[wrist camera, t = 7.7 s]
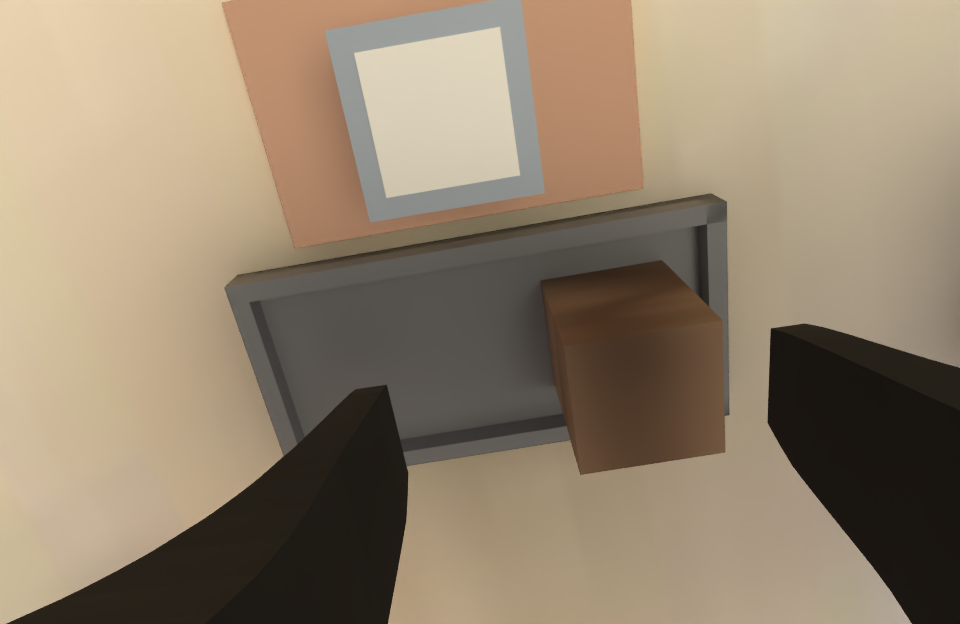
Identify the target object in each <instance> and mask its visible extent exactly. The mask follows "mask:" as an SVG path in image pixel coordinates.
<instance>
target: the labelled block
mask: <svg viewBox="0 0 960 624" xmlns="http://www.w3.org/2000/svg"><path fill="white" fill-rule="evenodd" d="M325 35H326V39H327V43H328V48H329V52H330V56H331V60H332V65H333V69H334V73H335V77H336V81H337V86H338V90H339V94H340V98H341V102H342V107H343V111H344V115H345V119H346V123H347V128H348V132H349V136H350V140H351V144H352V149H353V153H354V157H355V161H356V165H357V170H358V174H359V178H360V182H361V186H362V191H363V195H364V199H365V203H366V207H367V212H368V216H369V220H370V222H376V221H382V220H388V219H394V218H400V217H406V216H412V215H418V214H424V213H430V212H436V211H442V210H448V209H454V208H460V207H466V206H472V205H478V204H483V203H489V202H495V201H501V200H507V199H513V198H519V197H525V196H531V195H537V194H543V193H545V190H544V182H543V174H542V165H541V157H540V149H539V141H538V133H537V124H536V116H535V108H534V100H533V92H532V84H531V75H530V67H529V59H528V51H527V43H526V35H525V26H524V18H523V10H522V2H521V0H491V1H486V2H480V3H475V4H469V5H464V6H458V7H453V8H447V9H442V10H436V11H430V12H425V13H419V14H414V15H408V16H403V17H397V18H392V19H386V20H381V21H375V22H369V23H364V24H358V25H353V26H348V27H342V28H337V29H331V30H325Z"/></svg>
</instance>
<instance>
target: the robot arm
mask: <svg viewBox="0 0 960 624" xmlns="http://www.w3.org/2000/svg"><path fill="white" fill-rule="evenodd" d="M768 424H769V426H770V428H771V430H772V432H773V433H774V435H775V437H776V439H777V440H778V442H779V444H780V446H781V448H782V449H783V451H784V453H785V454H786V456H787V457H788V459H789V461H790V462H791V464H792V466H793V467H794V468H795V470H796V471H797V472H798V474H799V475H800V476H801V478H802V479H803V480H804V481H805V483H806V484H807V485H808V487H809V488H810V489H811V490H812V492H813V493H814V494H815V495H816V497H817V498H818V499H819V500H820V502H821V503H822V504H823V505H824V507H825V508H826V509H827V510H828V512H829V513H830V514H831V515H832V517H833V518H834V519H835V520H836V522H837V523H838V524H839V525H840V527H841V528H842V529H843V530H844V531H845V533H846V534H847V535H848V536H849V538H850V539H851V540H852V541H853V543H854V544H855V545H856V546H857V548H858V549H859V550H860V551H861V553H862V554H863V555H864V556H865V558H866V559H867V560H868V561H869V563H870V564H871V565H872V566H873V568H874V569H875V570H876V572H877V573H878V574H879V576H880V577H881V578H882V580H883V581H884V583H885V584H886V585H887V587H888V588H889V589H890V591H891V592H892V594H893V595H894V597H895V598H896V600H897V601H898V603H899V604H900V606H901V608H902V609H903V611H904V612H905V614H906V615H907V617H908V618H909V620H910V621H911V623H912V624H960V368H958V367H954V366H951V365H947V364H944V363H940V362H937V361H933V360H930V359H927V358H923V357H920V356H917V355H913V354H910V353H907V352H903V351H900V350H897V349H894V348H891V347H887V346H884V345H881V344H878V343H874V342H871V341H868V340H865V339H862V338H858V337H855V336H852V335H849V334H845V333H842V332H838V331H835V330H831V329H827V328H823V327H819V326H815V325H809V324H799V325H792V326H785V327H778V328H771V339H770V368H769V397H768ZM407 496H408V470H407V466H406V462H405V458H404V454H403V449H402V445H401V441H400V437H399V433H398V429H397V425H396V420H395V416H394V412H393V408H392V404H391V400H390V396H389V391H388V387H387V385H381V386H374V387H367V388H360V389H355V390H354V391H353V392H351V393H350V394H349V395H348V396H347V397H346V398H345V399H344V400H342V401H341V402H340V403H339V404H338V405H337V406H336V407H335V408H334V409H333V410H332V411H331V412H330V413H329V414H328V415H327V416H326V417H325V418H324V419H323V420H322V421H321V422H320V423H319V424H318V425H317V426H316V427H315V428H314V429H313V430H312V431H311V432H310V433H309V434H308V435H307V436H306V437H305V438H304V439H303V440H302V441H301V442H299V443H298V444H297V445H296V446H295V447H294V448H293V449H292V450H291V451H289V452H288V453H287V454H286V455H285V456H284V457H283V458H281V459H280V460H279V461H278V462H277V463H276V464H275V465H274V466H272V467H271V468H270V469H269V470H268V471H267V472H266V473H264V474H263V475H262V476H261V477H260V478H259V479H257V480H256V481H255V482H254V483H252V484H251V485H250V486H249V487H247V488H246V489H245V490H243V491H242V492H241V493H240V494H238V495H237V496H236V497H234V498H233V499H231V500H230V501H229V502H227V503H226V504H225V505H223V506H222V507H220V508H219V509H218V510H216V511H215V512H213V513H212V514H211V515H209V516H208V517H206V518H205V519H203V520H202V521H200V522H198V523H197V524H195V525H194V526H192V527H190V528H189V529H187V530H186V531H184V532H182V533H181V534H179V535H178V536H176V537H174V538H173V539H171V540H170V541H168V542H167V543H165V544H163V545H162V546H160V547H159V548H157V549H155V550H154V551H152V552H150V553H149V554H147V555H145V556H143V557H142V558H140V559H138V560H136V561H134V562H132V563H131V564H129V565H127V566H125V567H123V568H122V569H120V570H118V571H116V572H114V573H112V574H110V575H108V576H106V577H105V578H103V579H101V580H99V581H97V582H95V583H93V584H91V585H89V586H87V587H85V588H83V589H81V590H79V591H77V592H75V593H73V594H71V595H69V596H67V597H65V598H63V599H61V600H58V601H56V602H54V603H52V604H49V605H47V606H45V607H43V608H40V609H38V610H36V611H34V612H32V613H29V614H27V615H25V616H23V617H20V618H18V619H16V620H14V621H11V622H9V623H7V624H388V619H389V614H390V608H391V603H392V597H393V592H394V586H395V581H396V576H397V570H398V565H399V559H400V553H401V548H402V542H403V536H404V531H405V524H406V516H407Z"/></svg>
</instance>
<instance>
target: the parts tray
mask: <svg viewBox="0 0 960 624" xmlns="http://www.w3.org/2000/svg"><path fill="white" fill-rule="evenodd" d="M659 260H663V261H664V262H665V263H666V264H667V265H668V266H669V267H670V268H671V269H672V270H673V271H674V272H675V273H676V274H677V275H678V276H679V277H680V278H681V279H682V280H683V281H684V282H685V283H686V284H687V285H688V286H689V287H690V288H691V289H692V290H693V291H694V292H695V293H696V294H697V295H698V296H699V297H700V298H701V299H702V300H703V301H704V302H705V303H706V304H707V305H708V306H709V307H710V308H711V309H712V310H713V311H714V312H715V313H716V314H717V315H718V316H719V317H720V318H721V319H722V320H723V359H724V416H727V415H729V346H728V272H727V202H726V201H724V200H723V199H721V198H719V197H717V196H715V195H713V194H706V195H701V196H695V197H689V198H683V199H677V200H672V201H666V202H660V203H654V204H648V205H642V206H637V207H631V208H625V209H619V210H613V211H608V212H602V213H596V214H590V215H584V216H579V217H573V218H567V219H561V220H555V221H550V222H544V223H538V224H532V225H526V226H520V227H515V228H509V229H503V230H497V231H491V232H486V233H480V234H474V235H468V236H462V237H457V238H451V239H445V240H439V241H433V242H428V243H422V244H416V245H410V246H404V247H398V248H393V249H387V250H381V251H375V252H369V253H364V254H358V255H352V256H346V257H340V258H335V259H329V260H323V261H317V262H311V263H306V264H300V265H294V266H288V267H282V268H276V269H271V270H265V271H259V272H253V273H247V274H242V275H237V276H236V277H235V278H234V279H233V280H232V281H231V282H230V283H229V284H228V285H227V286H226V287H225V291H226V294H227V297H228V299H229V302H230V305H231V308H232V311H233V314H234V316H235V319H236V322H237V325H238V328H239V331H240V333H241V336H242V339H243V342H244V345H245V348H246V350H247V353H248V356H249V359H250V362H251V365H252V367H253V370H254V373H255V376H256V379H257V381H258V384H259V387H260V390H261V393H262V396H263V398H264V401H265V404H266V407H267V410H268V413H269V415H270V418H271V421H272V424H273V427H274V430H275V432H276V435H277V438H278V441H279V444H280V447H281V449H282V452H283V455H284V456H285V455H286V454H287V453H288V452H289V451H291V450H292V449H293V448H294V447H295V446H296V445H297V444H298V443H299V442H301V441H302V440H303V439H304V438H305V437H306V436H307V435H308V434H309V433H310V432H311V431H312V430H313V429H314V428H315V427H316V426H317V425H318V424H319V423H320V422H321V421H322V420H323V419H324V418H325V417H326V416H327V415H328V414H329V413H330V412H331V411H332V410H333V409H334V408H335V407H336V406H337V405H338V404H339V403H340V402H341V401H342V400H344V399H345V398H346V397H347V396H348V395H349V394H350V393H351V392H353V391H354V390H355V389H360V388H367V387H374V386H381V385H387V387H388V391H389V396H390V400H391V404H392V408H393V412H394V416H395V420H396V425H397V429H398V433H399V437H400V441H401V445H402V449H403V454H404V458H405V462H406V466H410V465H416V464H422V463H429V462H435V461H441V460H448V459H454V458H460V457H467V456H473V455H479V454H486V453H492V452H499V451H505V450H511V449H518V448H524V447H530V446H537V445H543V444H549V443H556V442H562V441H568V440H570V436H569V433H568V429H567V426H566V422H565V419H564V415H563V412H562V408H561V405H560V401H559V398H558V394H557V391H556V387H555V382H554V374H553V367H552V360H551V353H550V346H549V338H548V331H547V324H546V317H545V310H544V303H543V295H542V288H541V281H540V280H546V279H552V278H558V277H564V276H570V275H576V274H582V273H588V272H594V271H600V270H606V269H612V268H618V267H624V266H629V265H635V264H641V263H647V262H653V261H659Z"/></svg>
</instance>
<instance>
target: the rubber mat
mask: <svg viewBox="0 0 960 624" xmlns="http://www.w3.org/2000/svg"><path fill="white" fill-rule="evenodd" d="M486 1H491V0H234V1H228V2H223V3H222V6H223V9H224V12H225V16H226V19H227V22H228V26H229V29H230V32H231V36H232V39H233V42H234V46H235V49H236V53H237V56H238V59H239V63H240V66H241V69H242V73H243V76H244V79H245V83H246V86H247V89H248V93H249V96H250V100H251V103H252V106H253V110H254V113H255V116H256V120H257V123H258V126H259V130H260V133H261V136H262V140H263V143H264V146H265V150H266V153H267V157H268V160H269V163H270V167H271V170H272V173H273V177H274V180H275V183H276V187H277V190H278V193H279V197H280V200H281V204H282V207H283V210H284V214H285V217H286V220H287V224H288V227H289V230H290V234H291V237H292V240H293V244H294V247H295V248H300V247H306V246H312V245H317V244H323V243H329V242H335V241H340V240H346V239H352V238H358V237H364V236H369V235H375V234H381V233H387V232H392V231H398V230H404V229H410V228H415V227H421V226H427V225H433V224H439V223H444V222H450V221H456V220H462V219H467V218H473V217H479V216H485V215H491V214H496V213H502V212H508V211H514V210H519V209H525V208H531V207H537V206H542V205H548V204H554V203H560V202H566V201H571V200H577V199H583V198H589V197H594V196H600V195H606V194H612V193H617V192H623V191H629V190H635V189H641V188H643V174H642V159H641V144H640V129H639V113H638V98H637V83H636V68H635V53H634V38H633V22H632V7H631V0H521V2H522V10H523V18H524V26H525V35H526V43H527V51H528V59H529V67H530V75H531V84H532V92H533V100H534V108H535V116H536V124H537V133H538V141H539V149H540V157H541V165H542V174H543V182H544V190H545V193H543V194H537V195H531V196H525V197H519V198H513V199H507V200H501V201H495V202H489V203H483V204H478V205H472V206H466V207H460V208H454V209H448V210H442V211H436V212H430V213H424V214H418V215H412V216H406V217H400V218H394V219H388V220H382V221H376V222H370V220H369V216H368V212H367V207H366V203H365V199H364V195H363V191H362V186H361V182H360V178H359V174H358V170H357V165H356V161H355V157H354V153H353V149H352V144H351V140H350V136H349V132H348V128H347V123H346V119H345V115H344V111H343V107H342V102H341V98H340V94H339V90H338V86H337V81H336V77H335V73H334V69H333V65H332V60H331V56H330V52H329V48H328V43H327V39H326V35H325V30H331V29H337V28H342V27H348V26H353V25H358V24H364V23H369V22H375V21H381V20H386V19H392V18H397V17H403V16H408V15H414V14H419V13H425V12H430V11H436V10H442V9H447V8H453V7H458V6H464V5H469V4H475V3H480V2H486Z"/></svg>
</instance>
